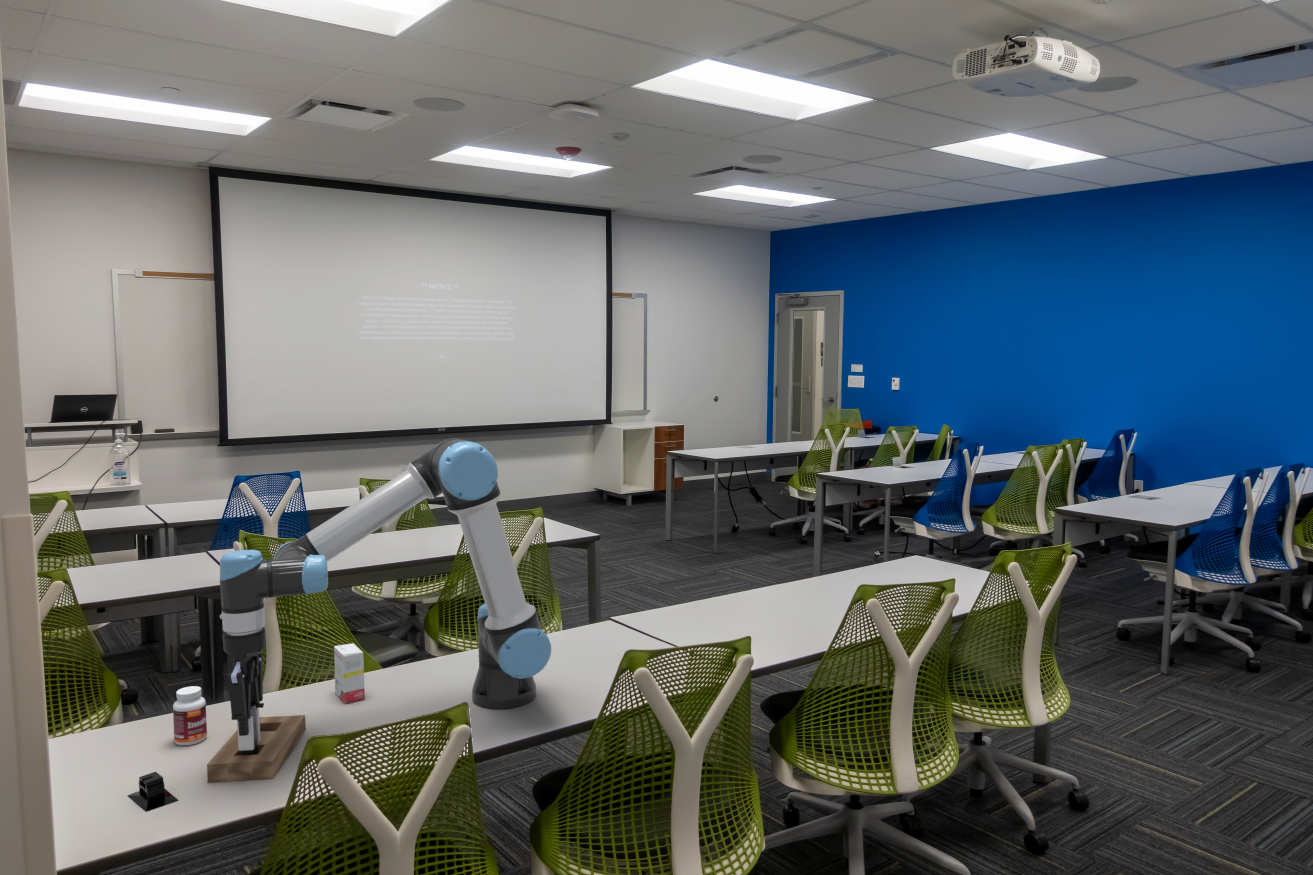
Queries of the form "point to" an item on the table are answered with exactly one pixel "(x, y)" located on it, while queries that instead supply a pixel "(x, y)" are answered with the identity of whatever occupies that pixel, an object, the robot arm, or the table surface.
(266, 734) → the socket block
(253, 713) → the pin
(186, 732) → the pill bottle
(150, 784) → the black stepped mount
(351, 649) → the ink box
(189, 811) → the table surface
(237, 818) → the table surface
